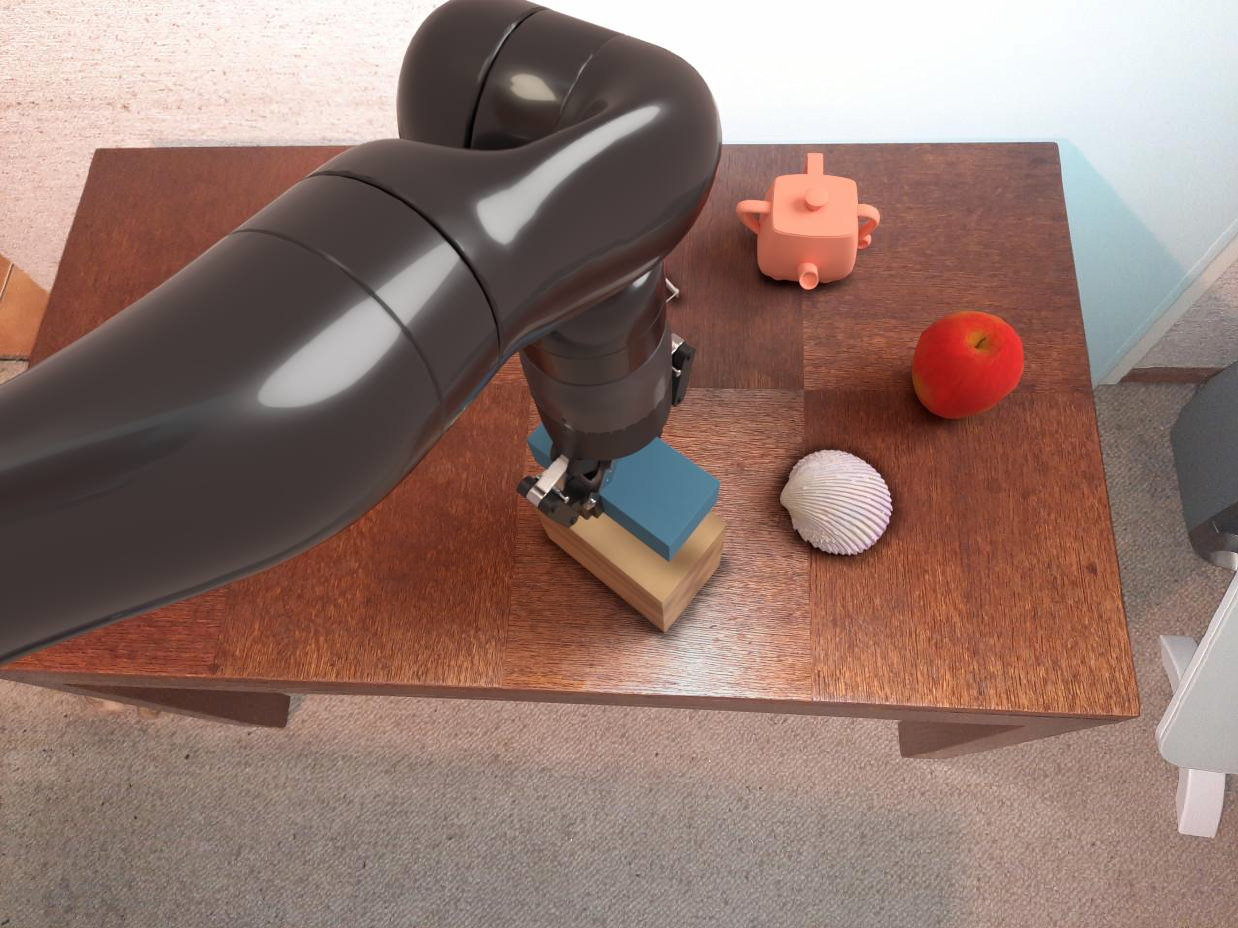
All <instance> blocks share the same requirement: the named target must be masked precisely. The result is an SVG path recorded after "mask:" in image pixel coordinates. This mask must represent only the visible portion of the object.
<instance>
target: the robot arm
mask: <svg viewBox="0 0 1238 928" xmlns="http://www.w3.org/2000/svg"><path fill="white" fill-rule="evenodd" d="M395 103H396V105H395V106H396V107H395V108H396V109H395V111H396V122H397V133H398V138H396V137H395V138H391V137H390V138H380V139H374V140H370V141H366V142H362V143H360V144H357V145H355V146H352V147H350V148H348V149H346V150H344V151H342V152H341V153H339V154H337V155H335V156H334V157H332V158H330V159H329V160H327V161H326V162H324V163H323V164H321V165H320V166H318V167H317V168H315V169H314V170H313V171H312V172H310V173H308V174H307V175H306V176H304V177H303V178H301V179H300V180H299V181H298V182H297V183H295V184H293V185H292V186H291V187H289V188H288V189H287V190H285V191H284V192H282V193H281V194H280V195H279V196H277V197H276V198H275V199H273V200H272V201H270V202H269V203H267V205H265V206H263V207H262V208H261V209H260V210H258V211H257V212H255V213H254V214H253V215H251V216H250V217H248V218H247V219H246V220H245V221H243V222H242V223H240V224H239V225H238V226H237V227H235V228H234V229H233V230H231V231H230V232H228V233H227V234H226V235H224V236H223V237H222V238H220V239H219V240H218V241H216V242H215V243H214V244H212V245H211V246H210V247H208V248H207V249H205V250H204V251H202V253H200V254H199V255H198V256H196V257H195V258H194V259H192V260H191V261H189V263H186V264H185V265H183V267H181V268H180V269H179V270H177V271H176V272H175V273H173V274H172V275H171V276H170V277H167V279H166V280H164V281H163V282H161V283H160V284H159V285H156V286H155V287H154V288H153V289H151V290H150V291H148V292H146V293H145V294H144V295H142V296H140V297H139V298H138V299H136V300H135V301H133V302H132V303H131V304H129V305H127V306H126V307H124V308H123V309H122V310H120V311H119V312H117V313H115V314H114V315H113V316H112V317H110V318H109V319H107V320H106V321H104V322H103V323H101V324H100V325H98V326H97V327H95V328H94V329H92V330H90V331H89V332H87V333H86V334H84V335H82V336H81V337H79V338H77V339H76V340H74V341H73V342H71V343H70V344H68V345H67V346H65V347H63V348H61V349H60V350H58V351H57V352H55V353H53V354H51V355H49V356H48V357H47V358H45V359H43V360H41V361H40V362H38V363H36V364H35V365H33V366H31V367H29V368H26V369H25V370H24V371H22V372H20V373H18V374H16V375H15V376H13V377H11V378H9V379H8V380H6V381H4V382H2V383H0V668H2V667H5V666H8V665H10V664H12V663H15V662H17V661H18V660H21V659H23V658H26V657H28V656H31V655H33V654H37V653H39V652H41V651H44V650H47V649H49V648H50V649H51V648H52V647H55V646H58V645H60V644H63V643H67V642H68V641H72V640H74V639H76V638H79V637H82V636H84V635H87V634H90V633H93V632H96V631H98V630H101V629H104V628H106V627H109V626H112V625H114V624H117V623H122V622H124V621H128V620H130V619H133V618H135V617H139V616H142V615H144V614H148V613H151V612H154V611H156V610H160V609H164V608H166V607H169V606H171V605H175V604H178V603H181V602H184V601H187V600H190V599H193V598H196V597H199V596H202V595H204V594H207V593H210V592H212V591H216V590H218V589H220V588H224V587H226V586H229V585H232V584H234V583H237V582H241V581H242V580H243V581H244V580H245V579H249V578H251V577H254V576H257V575H260V574H263V573H264V572H267V571H270V570H272V569H274V568H276V567H278V566H280V565H283V564H285V563H287V562H289V561H291V560H294V559H296V558H298V557H300V556H302V555H304V554H305V553H307V552H309V551H311V550H314V549H315V548H317V547H319V546H321V545H322V544H324V543H326V542H329V540H331V539H333V538H334V537H335V536H337V535H339V534H340V533H341V532H343V531H345V530H347V529H348V528H350V527H351V526H353V525H354V524H356V523H357V522H358V521H359V520H361V518H363V517H364V516H366V515H367V514H368V513H370V512H371V511H372V510H373V509H375V508H376V507H377V506H378V505H380V503H382V502H383V501H384V500H385V499H387V497H389V496H390V494H391V493H393V492H394V491H395V490H396V489H397V487H399V486H400V485H401V484H402V483H403V482H404V481H405V479H407V478H408V477H409V475H410V474H412V473H413V472H414V470H415V469H416V468H417V467H418V466H419V465H420V463H421V462H423V460H424V459H425V458H426V457H427V455H428V454H429V453H430V452H431V451H432V449H434V447H435V446H436V445H437V444H438V442H440V440H441V439H442V438H443V436H445V434H446V433H447V432H448V431H449V430H450V429H451V428H452V426H453V425H454V424H455V423H456V422H457V421H458V419H459V418H460V417H461V416H462V415H463V413H464V412H465V411H466V410H467V409H468V407H469V406H470V405H471V404H472V403H473V402H474V401H475V400H476V398H477V397H478V396H479V395H480V394H481V392H482V391H483V390H484V389H485V388H486V387H487V385H489V383H490V381H492V379H493V378H494V377H495V376H496V375H497V374H498V372H499V371H500V370H501V369H502V368H503V367H504V365H505V364H506V363H507V362H508V361H509V360H510V359H511V358H512V357H513V356H514V355H516V354H517V353H518V358H519V361H520V365H521V368H522V372H523V375H524V377H525V380H526V382H527V385H528V391H529V394H530V396H531V398H532V400H533V402H534V405H535V407H536V410H537V413H538V415H539V418H540V421H541V422H542V424H543V426H544V428H545V430H546V431H547V433H548V435H549V437H550V438H551V440H552V442H553V443H552V447H551V450H550V458H551V461H552V462H553V463H552V464H551V466H550V467H549V468H548V469H547V471H546V472H545V473H544V474H543V475H541V474H542V473H537V474H536V475H535V476H534V477H533V476H531V475H530V474H528V475H526V476H524V477H523V478H522V479H521V480H520V481H519V483H518V485H517V487H516V490H515V491H516V493H518V494H519V495H520V496H521V497H522V498H523V499H525V500H526V501H527V502H529V503H530V505H531V506H532V505H534V506H535V507H536V508H537V509H539V510H540V511H541V512H542V513H543V514H545V515H546V516H547V517H549V518H550V519H552V520H554V521H556V522H557V523H559V524H561V525H562V526H564V527H566V528H570V527H571V526H572V525H574V524H575V523H576V522H577V521H578V518H579V515H580V516H582V517H583V518H584V519H585V520H589V518H590V517H591V516H594V517H595V518H597V519H598V518H599V517H600V515H601V514H602V513H603V512H604V508H603V504H602V500H601V496H600V492H601V491H602V490H603V489H604V488H605V487H606V486H607V485H609V484H610V483H611V481H612V478H613V475H614V472H615V469H616V466H617V463H618V461H620V460H621V459H622V458H624V457H627V456H629V455H632V454H634V453H636V452H638V451H640V450H641V449H643V448H644V447H646V446H647V445H648V444H650V443H651V442H652V441H653V440H654V439H655V438H656V437H658V438H660V439H661V440H662V435H663V433H664V430H663V429H664V427H665V426H666V425H667V423H668V419H669V417H670V413H671V411H672V410H671V409H672V407H674V408H676V407H678V406H679V405H681V404H682V403H683V401H684V400H685V397H686V394H687V390H688V385H689V381H690V376H691V374H692V373H691V372H692V368H693V364H694V360H695V357H696V356H695V355H696V351H697V349H696V347H694V346H693V345H691V344H689V343H688V342H687V341H686V340H685V339H683V338H682V337H680V336H679V335H677V334H676V333H675V332H673V331H672V329H671V325H670V320H669V317H668V313H667V302H666V301H667V286H666V278H667V273H666V272H667V270H666V267H667V266H666V258H667V257H668V256H669V255H670V254H671V253H672V252H673V251H674V250H675V248H676V247H677V246H678V245H679V244H680V243H681V242H682V241H683V239H685V237H686V236H687V235H688V234H689V232H691V231H690V230H691V229H692V228H693V226H694V225H695V224H696V222H697V220H698V219H699V218H700V215H701V214H702V212H703V211H704V208H705V207H706V205H707V204H708V201H709V199H710V197H711V194H712V192H713V190H714V187H715V183H716V181H717V177H718V174H719V170H720V164H721V159H722V153H723V152H722V151H723V129H722V122H721V116H720V112H719V108H718V105H717V102H716V100H715V97H714V94H713V92H712V90H711V88H710V86H709V84H708V83H707V81H706V80H705V79H704V77H702V75H701V73H700V72H699V71H698V69H696V68H695V67H694V66H693V65H692V64H690V63H689V62H688V61H687V60H686V59H684V58H683V57H681V56H680V55H678V54H676V53H675V52H672V51H671V50H668V49H667V48H664V47H662V46H660V45H657V44H655V43H652V42H649V41H646V40H642V39H640V38H638V37H634V36H631V35H629V34H625V33H622V32H620V31H616V30H613V29H610V28H607V27H604V26H601V25H598V24H595V23H592V22H589V21H586V20H583V19H581V18H577V17H575V16H571V15H569V14H565V13H562V12H560V11H556V10H553V9H551V8H549V7H546V6H544V5H541V4H538V3H535V2H533V1H530V0H447V1H446V2H444V3H443V4H441V5H440V6H438V7H436V8H435V9H434V10H433V11H432V12H430V14H428V15H427V17H426V18H425V19H424V20H423V21H422V22H421V24H420V26H419V27H418V28H417V30H416V31H415V33H414V35H413V36H412V37H411V39H410V41H409V44H408V46H407V47H406V51H405V52H404V56H403V60H402V64H401V67H400V70H399V76H398V80H397V87H396V101H395Z"/></svg>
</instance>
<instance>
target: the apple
mask: <svg viewBox="0 0 1238 928" xmlns="http://www.w3.org/2000/svg"><path fill="white" fill-rule="evenodd" d="M1024 368H1025V355H1024V347H1023V341H1022V339H1021V338H1020V336H1019V335H1018V334H1017V332H1016V331H1015V329H1014V328H1013V327H1012V326H1011V325H1010V324H1008V323H1007V322H1006V321H1004V320H1003V319H1001V318H1000V317H999V316H996V315H993V314H989V313H986V312H983V311H975V310H974V311H973V310H961V311H958V312H957V311H956V312H954V313H951V314H948V315H945V316H942V317H941V318H939V319H937V320H935V321H934V322H933V323H932V324H930V325H929V326H928V327H927V328H926V329H924V330H923V331H922V332H921V333H920V336H919V338H918V341H917V344H916V347H915V349H914V352H913V356H912V360H911V376H912V377H911V379H912V384H913V389H914V393H915V395H916V396H917V399H918V400H919V402H920V403H921V404H922V406H924V407H925V408H926V409H927V410H928V411H929V412H930V413H932V414H934V415H936V416H937V417H940V418H942V419H949V420H961V419H965V418H968V417H971V416H975V415H977V414H981V413H985V412H987V411H990V410H991V409H992V408H993V407H995V406H996V405H997V404H998V403H999V402H1000V401H1002V400H1003V399H1004V398H1005V397H1007V396H1008V395H1009V394H1010V393H1011V392H1013V391H1014V390H1015V389H1016V388H1017V386H1018V384H1019V382H1020V379H1021V377H1022V375H1023V373H1024V370H1025V369H1024Z"/></svg>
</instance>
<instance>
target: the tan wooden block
mask: <svg viewBox="0 0 1238 928" xmlns="http://www.w3.org/2000/svg"><path fill="white" fill-rule="evenodd" d="M546 471H547V470H546V469H545V470H543V472H541V473H540V474H541V475H543V474H544V473H545V472H546ZM531 506H532V508H533V509H534V511H535V513H536V515H537V517H538V519H539V521H540V522H541V525H542V527H543V528H544V531H545V533H546V534H547V536H548V538H549V539H550V541H552V542H553V543H554V544H556V545H557V546H558V547H559V548H561V549H562V550H563V551H564V552H566V553H567V554H568V555H569V556H570V557H571V558H573V559H574V560H575V561H576V562H578V564H580V565H581V566H582V567H583V568H585V569H586V570H587V571H588V572H590V573H592V575H593V576H595V578H597V579H598V580H599V581H601V582H602V583H603V584H604V585H606V586H607V587H608V588H609V589H611V591H613V592H614V593H615V594H616V595H617V596H618V597H620V598H621V599H623V600H624V601H625V603H627V604H628V605H630V606H631V607H632V608H633V609H635V610H636V611H637V612H638V613H639V614H640V615H642V616H643V617H644V618H646V619H647V620H648V621H649V622H650V623H652V624H653V625H654V626H655V627H657V629H659V630H660V631H662V632H663V633H666V632H667V631H668V630H669V629H670V628H671V626H672V625H673V624H674V623H675V621H676V620H677V619H678V618H679V616H680V615H681V614H682V612H684V610H685V609H686V608H687V607H688V606H689V604H690V603H691V602H692V600H693V599H694V598H695V597H696V595H697V594H698V593H699V592H700V591H701V589H702V588H703V587H704V586H705V584H707V582H708V581H709V579H710V578H711V577H712V576H713V575H714V573H715V572H716V571H717V570H718V568H719V567H720V564H721V559H722V553H723V550H724V549H723V548H724V543H725V538H726V533H727V528H728V523H727V522H726V521H725V520H724V519H723V518H722V517H720V516H718V515H717V514H716V513H715V512H713V511H712V510H710V511H709V513H708V514H707V515H706V516H705V518H704V519H703V520H702V522H701V523H700V524H699V525H698V527H697V528H696V529H695V530H694V532H693V533H692V534H691V535H690V537H689V538H688V539H687V541H686V542H685V543H684V544H683V546H682V547H681V548H680V549H679V551H678V552H677V553H676V554H675V556H674V557H673V558H672V559H671V561H670V562H668V561H667V560H665V559H664V558H663V557H661V556H660V555H659V554H657V553H656V552H655V551H653V550H652V549H651V548H649V547H648V546H647V545H645V544H644V543H643V542H642V541H640V540H639V539H638V538H636V537H635V536H634V535H632V534H631V533H630V532H628V531H627V530H626V529H624V528H623V527H622V526H620V525H619V524H618V523H616V522H615V521H614V520H612V519H611V518H610V517H608V516H607V515H606V514H604V513H602V514H601V515H600V517H599V518H598V519H597V518H595V517H594V516H591V517H590V518H589V520H585V519H584V518H583V517H582V516H580V515H579V518H578V521H577V522H576V523H575V524H574V525H572V526H571V527H570V528H566V527H564V526H562V525H561V524H559V523H557V522H556V521H554V520H552V519H550V518H549V517H547V516H546V515H545V514H543V513H542V512H541V511H540V510H539V509H537V508H536V507H535V506H534V505H532V504H531Z"/></svg>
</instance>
